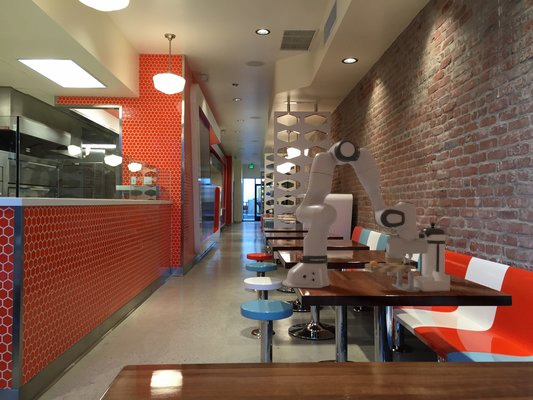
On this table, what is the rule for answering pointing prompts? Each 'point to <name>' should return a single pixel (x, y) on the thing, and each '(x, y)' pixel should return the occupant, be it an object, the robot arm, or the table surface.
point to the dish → (433, 282)
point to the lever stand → (404, 286)
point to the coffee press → (433, 251)
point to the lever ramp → (390, 267)
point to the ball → (373, 263)
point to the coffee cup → (392, 261)
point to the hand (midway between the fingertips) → (407, 263)
